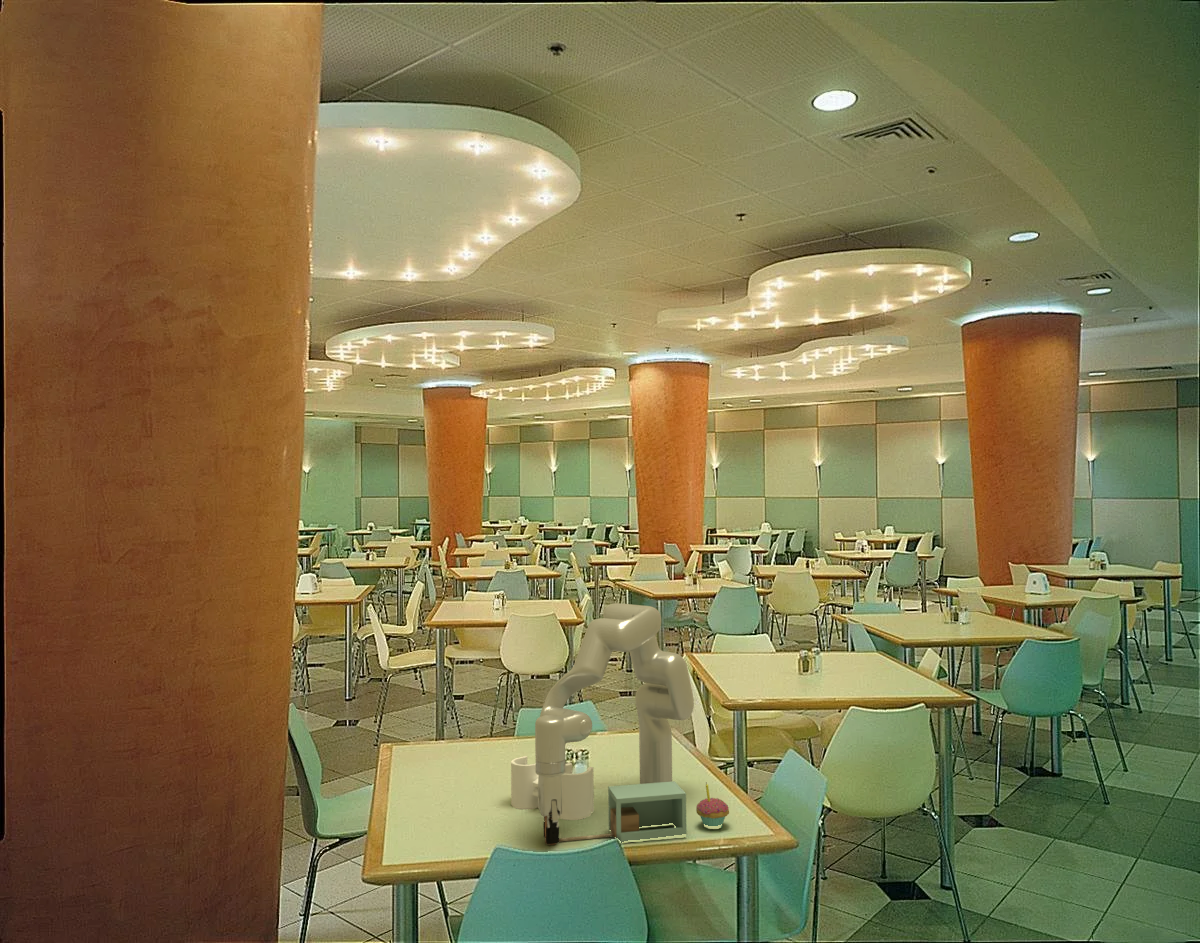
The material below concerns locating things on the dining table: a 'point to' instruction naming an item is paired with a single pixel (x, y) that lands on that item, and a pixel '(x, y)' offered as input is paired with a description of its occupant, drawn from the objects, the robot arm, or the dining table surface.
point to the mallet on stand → (627, 825)
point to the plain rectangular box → (649, 808)
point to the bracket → (573, 789)
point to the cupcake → (712, 810)
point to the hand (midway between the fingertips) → (551, 839)
